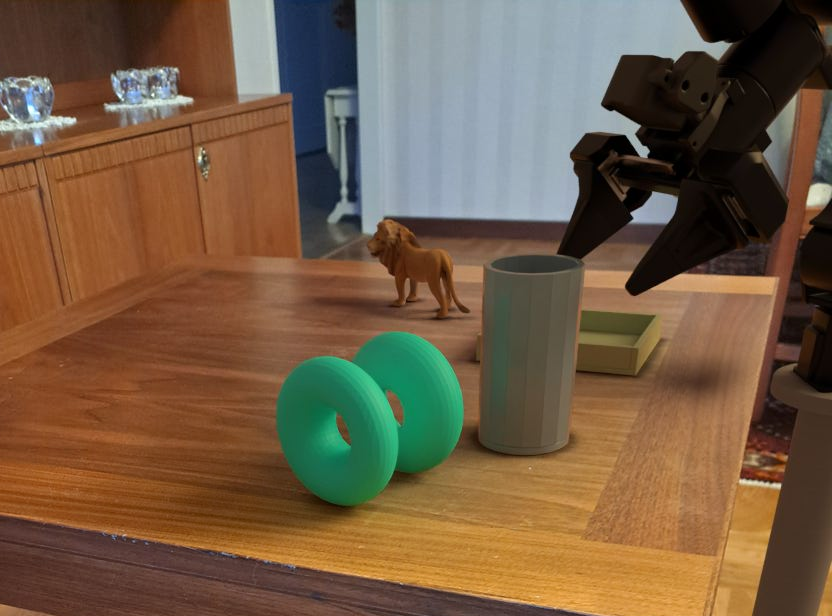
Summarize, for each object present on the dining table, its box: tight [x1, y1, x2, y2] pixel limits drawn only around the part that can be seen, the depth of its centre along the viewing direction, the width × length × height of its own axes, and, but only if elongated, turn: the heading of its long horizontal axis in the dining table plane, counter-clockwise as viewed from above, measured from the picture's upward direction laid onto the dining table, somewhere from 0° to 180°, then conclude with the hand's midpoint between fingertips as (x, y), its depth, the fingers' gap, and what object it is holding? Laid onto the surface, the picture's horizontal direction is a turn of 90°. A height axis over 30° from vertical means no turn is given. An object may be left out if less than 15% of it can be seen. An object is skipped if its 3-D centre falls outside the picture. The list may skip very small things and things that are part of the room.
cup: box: [477, 253, 586, 456], centre depth 70 cm, size 7×7×13 cm
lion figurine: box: [365, 219, 471, 319], centre depth 107 cm, size 15×5×9 cm, turn 43°
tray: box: [475, 308, 664, 377], centre depth 92 cm, size 15×12×2 cm
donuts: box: [275, 330, 465, 507], centre depth 65 cm, size 10×10×10 cm
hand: (591, 279), depth 69 cm, fingers open, 9 cm apart
